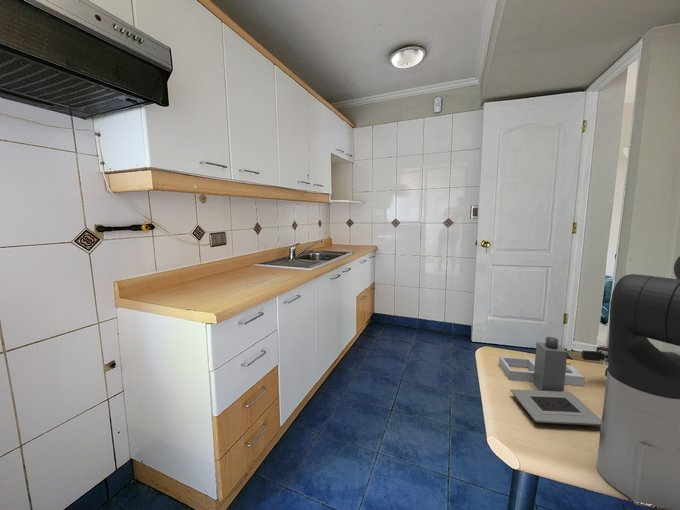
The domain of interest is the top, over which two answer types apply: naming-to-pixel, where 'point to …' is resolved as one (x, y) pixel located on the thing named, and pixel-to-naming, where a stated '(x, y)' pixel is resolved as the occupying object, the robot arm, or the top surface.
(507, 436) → the top surface
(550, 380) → the plug
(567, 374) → the grey rectangular frame
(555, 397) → the electrical outlet
